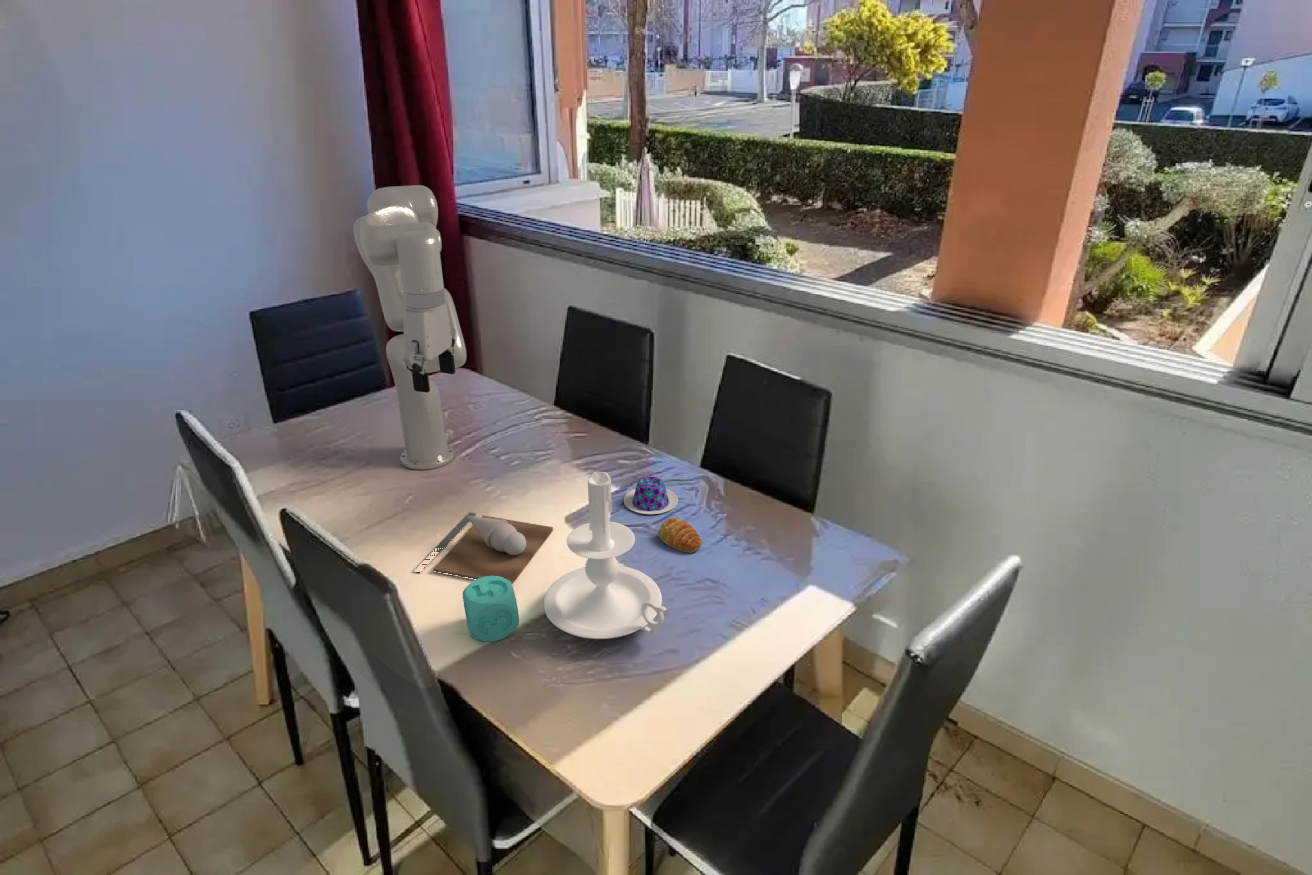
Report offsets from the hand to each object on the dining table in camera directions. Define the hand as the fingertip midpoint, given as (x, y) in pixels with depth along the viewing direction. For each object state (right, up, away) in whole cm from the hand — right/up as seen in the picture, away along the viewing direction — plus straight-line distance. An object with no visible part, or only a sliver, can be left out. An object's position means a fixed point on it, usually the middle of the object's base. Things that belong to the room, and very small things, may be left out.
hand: (435, 381), depth 156 cm
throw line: (+2, -32, +3) cm, 32 cm away
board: (+12, -33, 0) cm, 36 cm away
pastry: (+49, -32, +3) cm, 59 cm away
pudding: (+43, -26, +17) cm, 53 cm away
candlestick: (+36, -43, -19) cm, 59 cm away
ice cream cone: (+12, -33, 0) cm, 35 cm away
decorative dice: (+16, -44, -21) cm, 51 cm away
